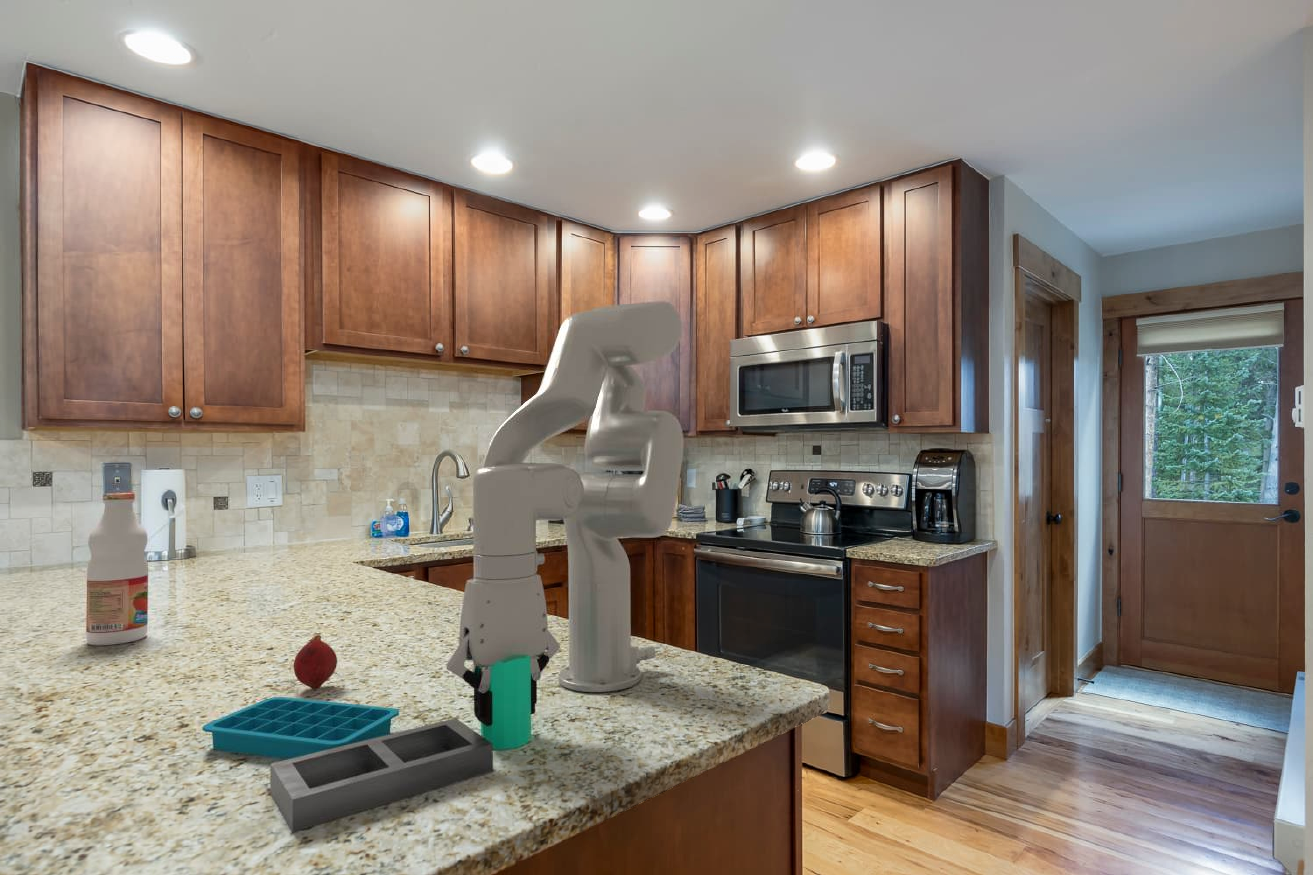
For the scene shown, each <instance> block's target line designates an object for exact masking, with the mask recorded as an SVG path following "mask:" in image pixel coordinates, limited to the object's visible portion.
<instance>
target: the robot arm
mask: <svg viewBox="0 0 1313 875" xmlns="http://www.w3.org/2000/svg"><path fill="white" fill-rule="evenodd" d="M682 328H683V323H682V319H681V316H680V314H679V311H678V310H677V308H676V307H675V306H674V305H673V304H672V303H670V302H669V301H666V300H657V301H646V302H637V303H626V304H614V305H608V306H600V307H598V308H593V309H591V310H586V311H584V310H583V311H579V312H576V313H573V314H571V315H569V316H568V317H567V318H566V319H565V320H564V321H562V323H561V326H560V328H559V330H558V334H557V336H556V339H555V342H554V344H553V348H552V351H551V354H550V357H549V360H548V363H547V365H546V368H545V372H544V374H543V377H542V380H541V382H540V386H539V389H538V391H537V392H536V393H535V395H533V396H532V397H531V398H529V399H528V400H527V401H525V402H524V403H523V404H522V405H521V406H520V407H519V408H518V409H517V410H515V412H513V413H512V414H511V415H510V416H509V417H508V418H507V419H506V420H505V421H504V423H502V424H501V425H500V426H499V428H498V429H497V431H495V433H494V434H493V436H492V438H491V440H490V442H489V444H488V447H487V450H486V451H485V455H484V458H483V460H482V463H481V466H480V468H479V469H477V470H476V471H475V473H474V476H473V479H472V480H473V482H472V495H473V496H472V503H473V504H472V512H473V514H472V515H473V516H472V519H473V520H472V521H473V523H472V524H473V526H472V528H473V529H472V531H473V532H472V533H473V536H472V537H473V558H472V559H473V578H471V579H467V580H466V581H465V582H466V583H465V587H464V593H463V598H462V603H461V604H462V605H461V611H460V622H459V635H458V636H459V637H458V640H459V641H458V647H457V648H456V650H455V651H454V652H453V654H452V655H451V657H450V659H449V660H448V662H447V664H446V665H445V666H446V669H447V670H448V671H450V672H451V673H453V674H454V675H456V676H458V677H459V678H461V679H462V680H463V681H464V682H466V683H467V684H468V685H469V686H470V687H471V688H473V714H474V716H475V718H476V719H477V721H478V722H480V723H481V722H482V723H483V724H485V725H486V726H490V725H492V692H491V691H488V689H489V685H490V680H491V669H490V668H491V666H493V665H495V664H497V663H498V662H507V661H510V660H512V659H515V658H525V656H526V655H529V657H530V658H531V715H534V714H536V704H537V702H538V687H537V686H538V684H537V683H538V682H537V681H540V679H541V677H542V672H543V670H545V668H546V666H547V665H548V664H549V662H550V659H552V658H553V657H554V656H555V654H556V653H557V652H558V651H559V650H560V648H561V645H560V643H559V642H558V641H557V639H556V638H555V637H554V636H553V635H552V633H551V632H550V630H549V627H548V626H549V624H548V613H547V612H548V610H547V602H546V596H545V590H544V586H543V582H542V581H543V580H542V577H541V575H540V574H537V572H538V566H539V565H543V564H545V561H546V559H545V555H544V553H538V550H537V532H536V531H537V521H554V522H555V521H561V520H562V521H563V525H564V529H565V531H564V532H565V535H566V543H567V554H568V555H567V560H568V562H567V564H568V571H567V572H568V666H566V667H564V668H562V670H560V671H559V673H558V683H559V684H560V685H561V686H563V687H564V688H566V689H569V690H572V691H577V692H583V693H607V692H615V691H620V690H625V689H627V688H630V687H633V686H635V685H637V684H639V682H640V681H641V679H642V673H641V670H640V668H639V667H638V666H637V665H639V664H640V663H641V661H647V660H652V659H654V658H656V655H657V652H656V649H655V647H654V646H652V645H650V646H645V647H641V648H639V646H637V645H635V646H632V644H631V641H632V640H631V639H632V636H631V635H632V634H631V631H632V630H631V628H632V627H631V565H630V561H629V558H628V555H627V553H626V550H625V549H624V547H623V545H622V544H621V542H620V541H619V539H618V538H642V539H643V538H645V539H646V538H647V539H648V538H649V539H650V538H651V539H653V538H659V537H661V536H663V535H665V534H666V533H667V532H668V531H669V529H670V527H671V525H672V523H673V518H674V514H675V510H676V503H677V497H678V492H679V491H678V489H679V484H680V477H681V472H682V471H681V470H682V463H683V458H684V457H683V456H684V445H685V444H684V434H683V428H682V426H681V423H680V421H679V419H678V418H677V417H676V415H674V414H672V413H671V412H668V411H664V410H645V408H646V407H645V406H646V402H647V394H648V393H647V387H646V384H645V383H644V381H643V379H642V377H641V376H640V374H639V373H638V371H636V369H635V368H634V367H633V365H634V366H635V365H643V364H648V363H651V362H654V361H656V360H658V359H661V358H663V357H665V356H668V355H669V354H671V353H673V351H675V350H676V348H677V347H678V346H679V344H680V342H681V338H682V332H683V329H682ZM587 420H588V426H587V429H586V434H585V439H584V440H585V441H584V448H583V449H584V455H585V461H587V463H588V464H589V465H590V466H592V467H593V468H596V469H597V470H603V471H613V472H614V471H615V472H620V471H621V472H624V471H625V472H628V471H629V472H643V473H642V474H641V473H640V474H638V473H637V474H636V473H635V474H633V473H631V474H630V473H629V474H628V473H626V474H625V473H623V474H622V473H621V474H620V473H590V474H585V475H584V474H583V475H580V474H579V473H578V472H577V471H576V470H575V469H574V468H572V467H570V466H569V465H566V464H563V463H557V462H555V463H552V462H551V463H550V462H547V463H546V462H545V463H543V462H525V460H526V459H527V457H528V456H529V455H530V453H532V452H533V451H534V449H536V448H538V447H539V445H542V443H544V442H546V441H547V440H549V439H551V438H554V437H555V436H557V435H560V434H562V433H564V432H566V431H569V430H570V429H573V428H574V427H577V426H578V425H580V424H583V423H584V422H586V421H587ZM466 661H472V663H473V667H472V670H471V669H469V668H467V667H466V666H465V663H466Z"/></svg>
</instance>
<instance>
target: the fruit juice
mask: <svg viewBox="0 0 1313 875" xmlns="http://www.w3.org/2000/svg"><path fill="white" fill-rule="evenodd" d="M102 495H103V496H102V500H103V501H102V502H103V504H104V510H103V514H102V517H101V519H100V522H99V523H98V524H97V526H96V527H95V528H94V529H93V530H92V531H91V532H90V534H89V536H88V542H87V543H88V545H87V546H88V548H89V552H90V555H91V557H90V561H89V562H88V565H87V569H86V611H85V612H86V614H85V615H86V617H85V618H86V619H85V620H86V626H85V628H86V629H85V637H86V642H87V644H88V645H90V646H114V645H119V644H120V645H121V644H127V643H132V642H135V641H139V640H142V639H144V638H146V636H147V633H148V622H149V620H148V619H149V618H148V617H149V615H148V612H149V611H148V609H149V608H148V607H149V606H148V605H149V603H148V602H149V597H148V596H149V564H148V563H149V562H148V558H147V557H146V554H145V550H146V547H147V545H148V534H147V533H148V532H147V530H146V529H145V527H143V526H142V525H141V524H140V523H139V522H138V520H137V517H136V514H135V512H134V508H133V505H134V504H133V503H134V502H135V499H136V496H135V493H134V492H115V493H113V492H112V493H104V494H102Z"/></svg>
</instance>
